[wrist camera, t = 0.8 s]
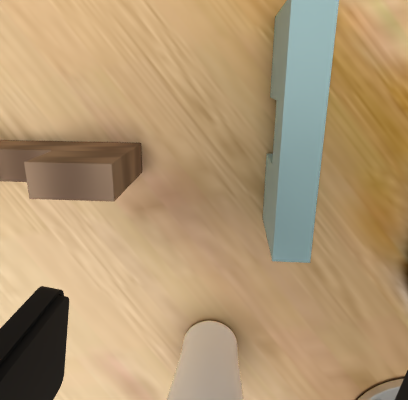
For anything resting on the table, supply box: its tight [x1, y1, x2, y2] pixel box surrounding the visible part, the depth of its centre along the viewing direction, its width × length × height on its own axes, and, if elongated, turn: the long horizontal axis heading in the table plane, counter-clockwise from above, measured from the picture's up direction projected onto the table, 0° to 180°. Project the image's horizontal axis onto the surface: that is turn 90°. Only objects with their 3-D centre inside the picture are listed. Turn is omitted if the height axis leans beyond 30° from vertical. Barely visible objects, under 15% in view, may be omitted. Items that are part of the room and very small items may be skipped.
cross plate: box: [263, 0, 339, 263], centre depth 26 cm, size 16×2×8 cm, turn 0°
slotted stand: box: [0, 140, 142, 201], centre depth 28 cm, size 16×2×8 cm, turn 90°
